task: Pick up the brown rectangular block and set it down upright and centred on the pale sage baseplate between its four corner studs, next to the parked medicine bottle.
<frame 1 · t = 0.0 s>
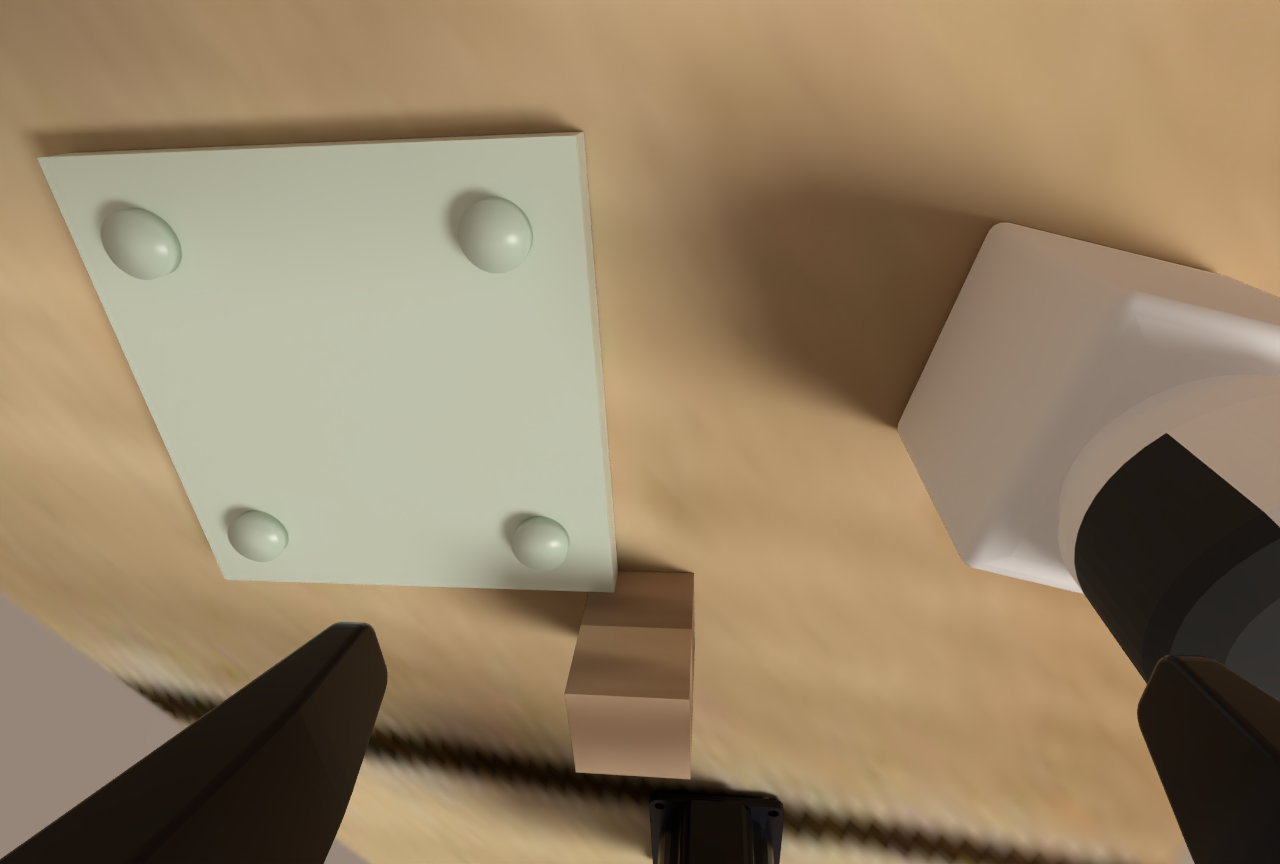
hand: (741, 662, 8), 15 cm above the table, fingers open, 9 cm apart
brown rectangular block: (645, 609, 27), on the table
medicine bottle: (1044, 356, 21), on the table
baseplate: (379, 388, 23), on the table
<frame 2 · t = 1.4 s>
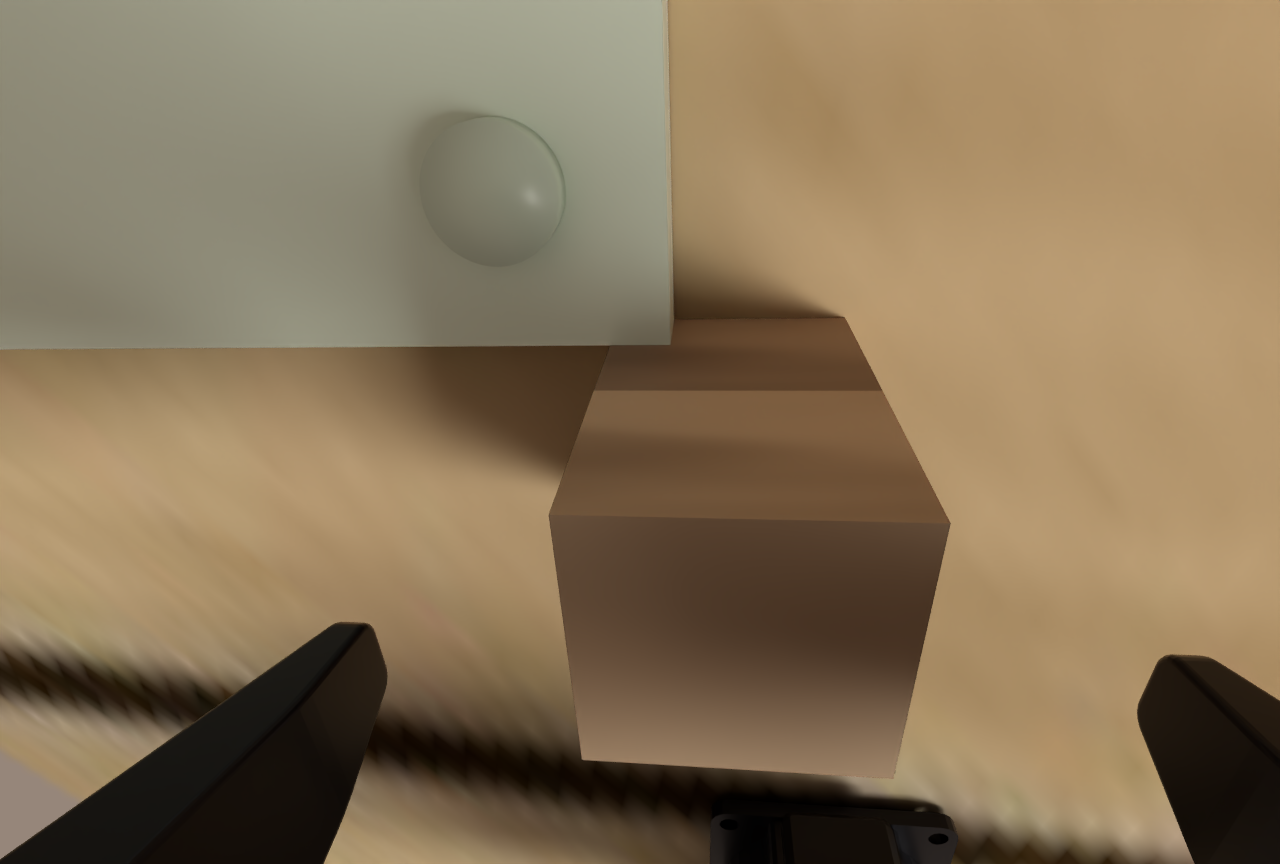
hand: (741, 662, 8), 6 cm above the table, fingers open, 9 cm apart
brown rectangular block: (728, 417, 13), on the table
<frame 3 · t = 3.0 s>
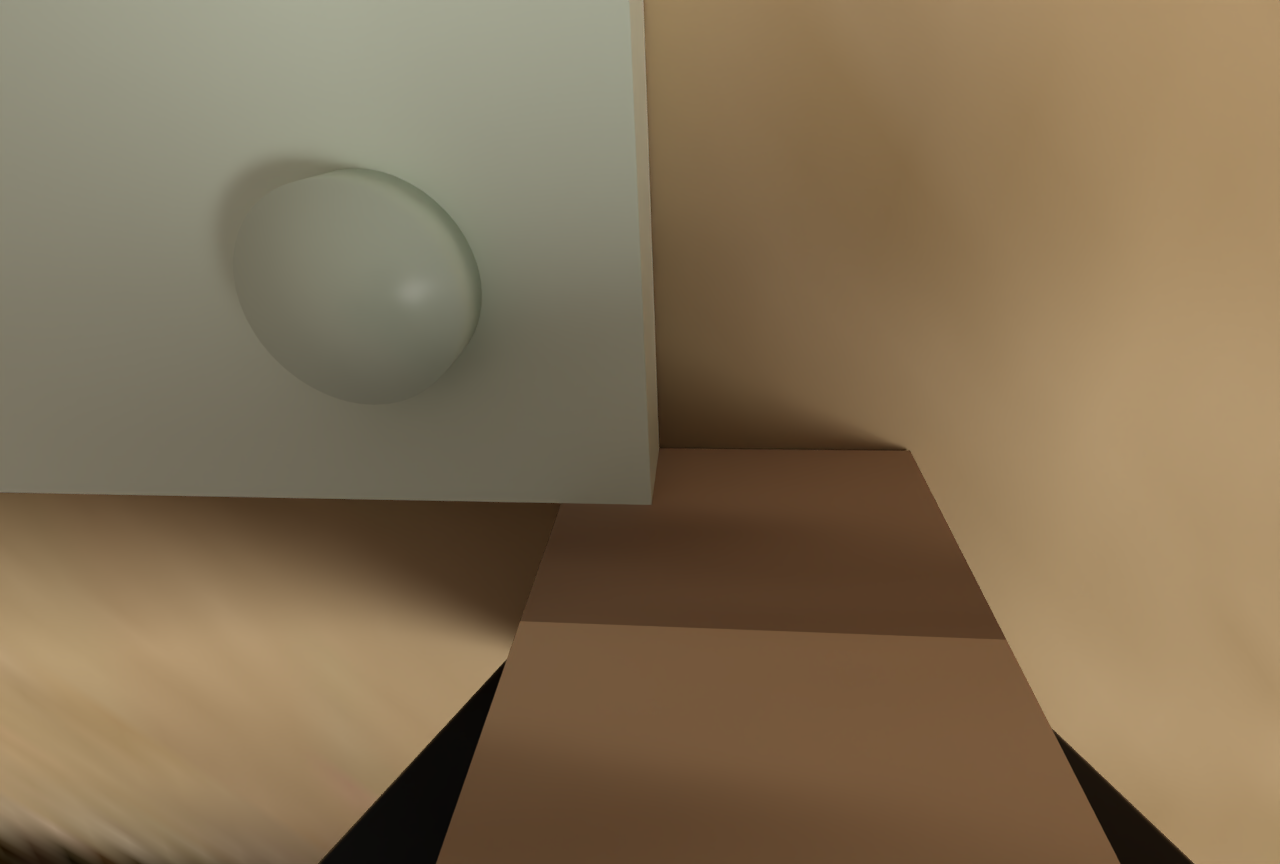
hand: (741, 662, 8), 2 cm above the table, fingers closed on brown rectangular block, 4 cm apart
brown rectangular block: (736, 575, 9), on the table, touching baseplate, gripper
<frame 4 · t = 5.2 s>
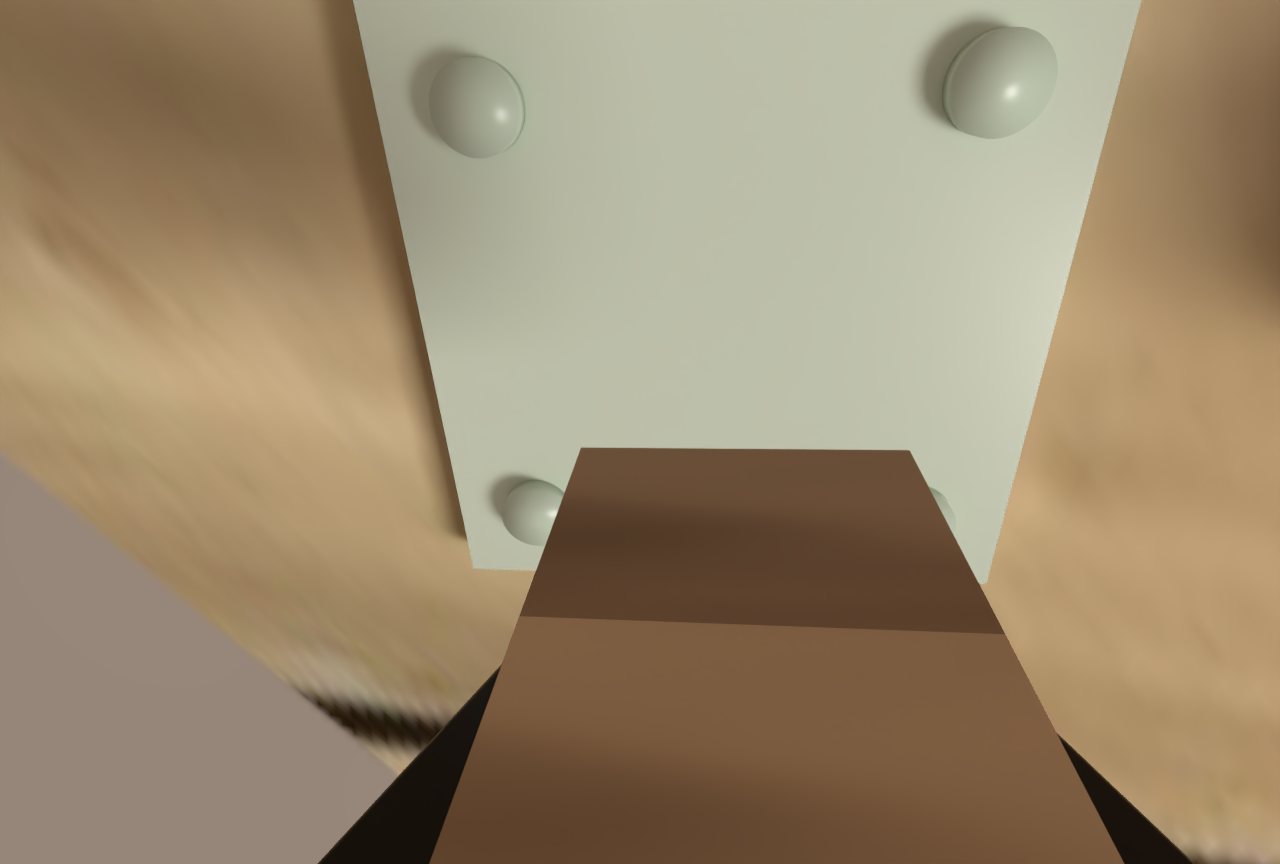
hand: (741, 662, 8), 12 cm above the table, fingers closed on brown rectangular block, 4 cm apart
brown rectangular block: (737, 575, 9), point 10 cm above the table, touching gripper
baseplate: (722, 320, 18), on the table
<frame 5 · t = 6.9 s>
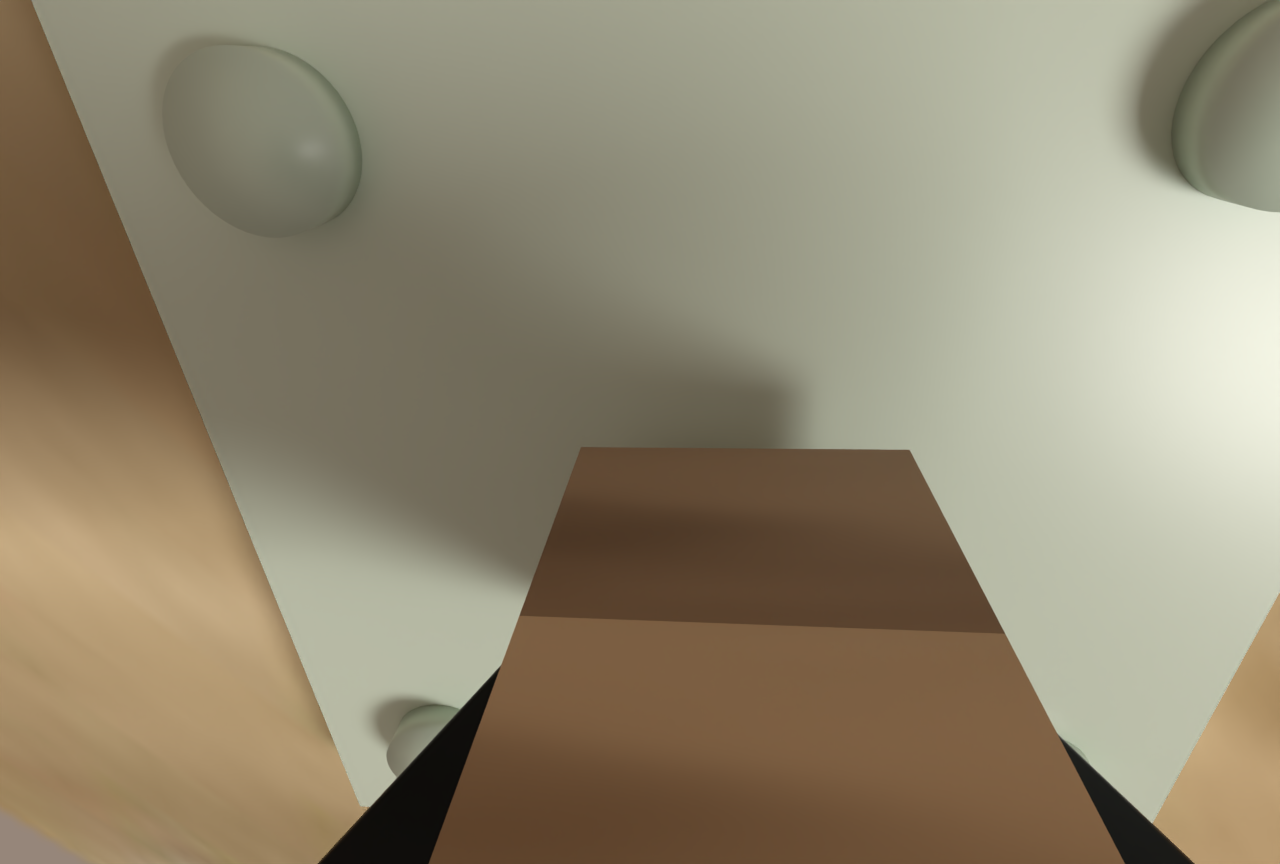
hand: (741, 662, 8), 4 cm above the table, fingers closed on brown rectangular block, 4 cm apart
brown rectangular block: (737, 575, 9), point 2 cm above the table, touching gripper
baseplate: (729, 478, 11), on the table
when the fingers open (3 cm above the table, at t = 7.8 s): brown rectangular block stays where it is, resting on baseplate.
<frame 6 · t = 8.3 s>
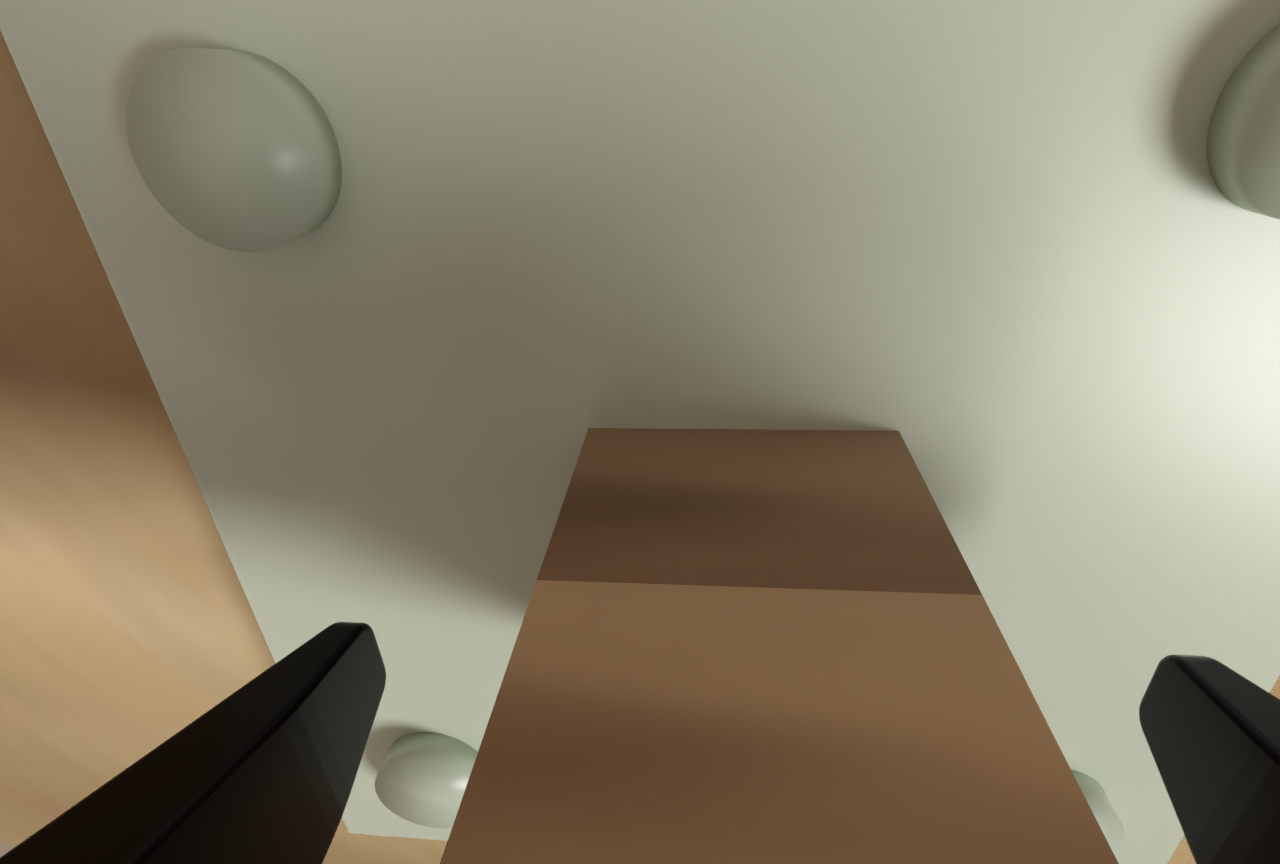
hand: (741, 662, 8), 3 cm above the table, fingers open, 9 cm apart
brown rectangular block: (735, 550, 10), point 1 cm above the table, touching baseplate
baseplate: (731, 500, 11), on the table
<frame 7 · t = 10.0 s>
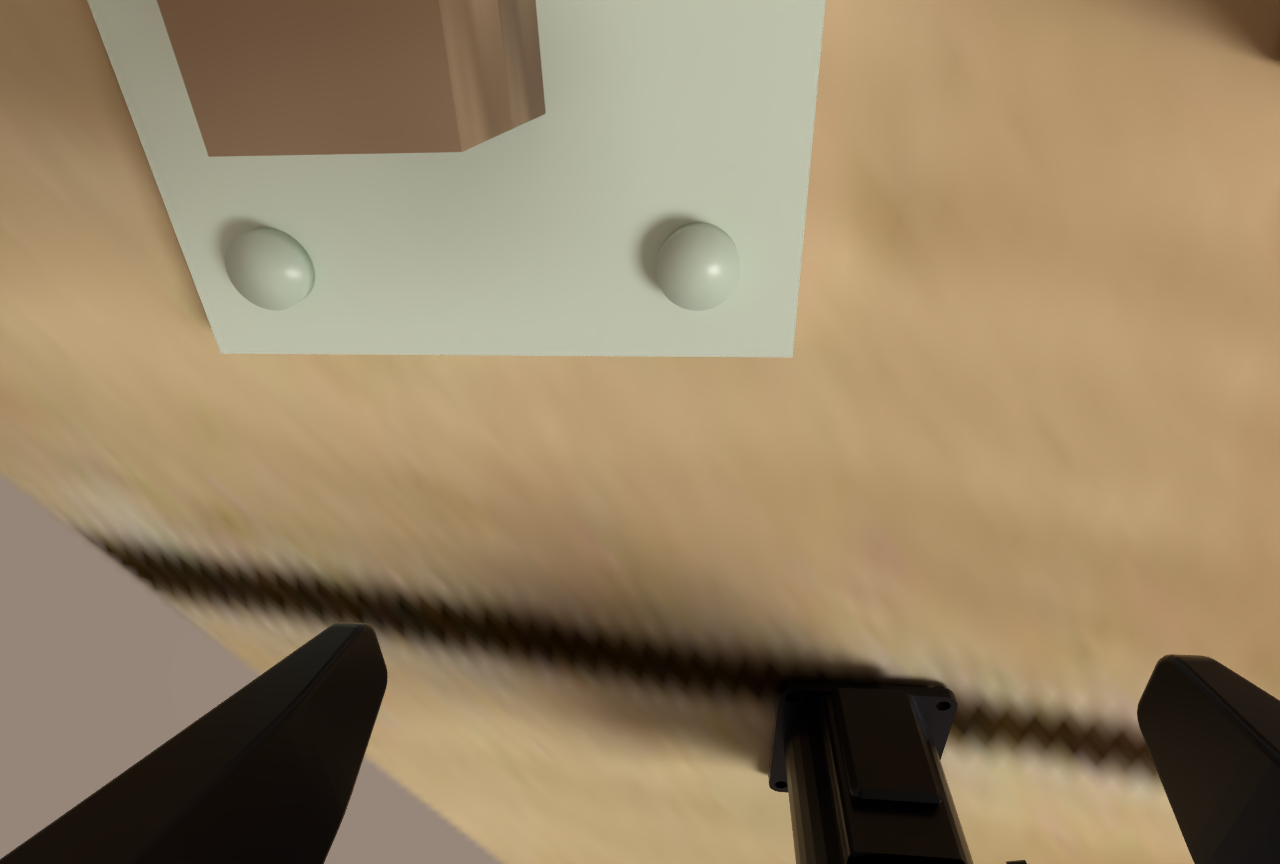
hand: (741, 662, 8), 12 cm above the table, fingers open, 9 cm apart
brown rectangular block: (444, 12, 14), point 1 cm above the table, touching baseplate
baseplate: (460, 11, 15), on the table
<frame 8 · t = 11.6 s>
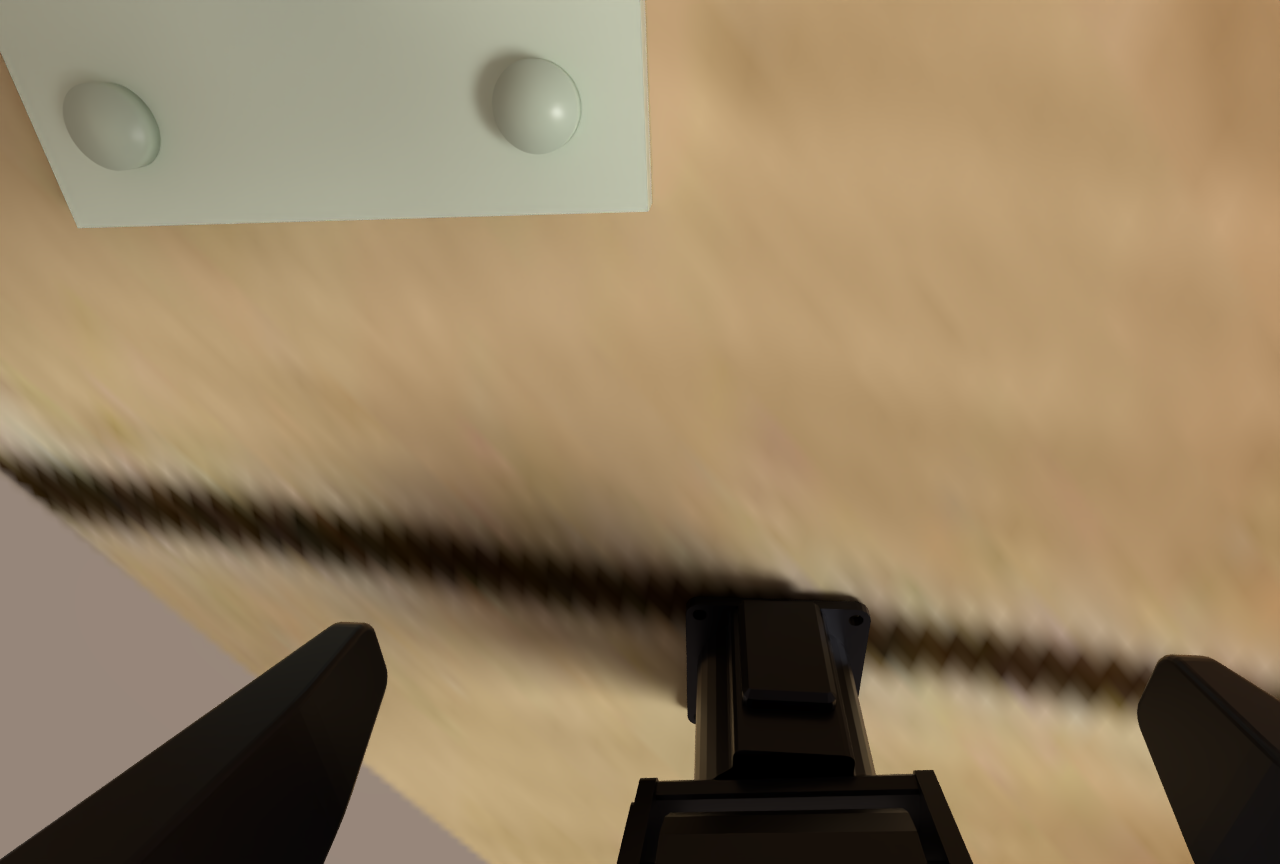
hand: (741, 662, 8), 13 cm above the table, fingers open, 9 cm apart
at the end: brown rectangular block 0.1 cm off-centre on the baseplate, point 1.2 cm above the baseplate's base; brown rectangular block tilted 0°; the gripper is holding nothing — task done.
